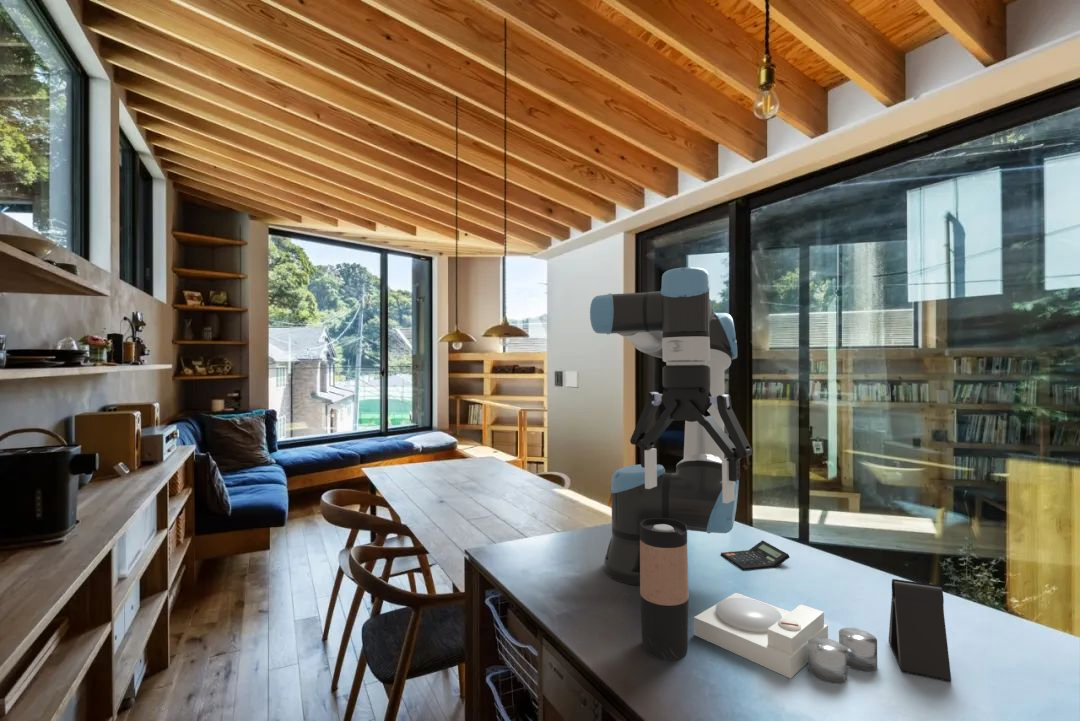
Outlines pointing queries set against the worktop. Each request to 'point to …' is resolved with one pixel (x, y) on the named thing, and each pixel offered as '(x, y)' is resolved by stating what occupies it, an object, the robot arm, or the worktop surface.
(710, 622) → the scale
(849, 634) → the cylinder
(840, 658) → the cylinder
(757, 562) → the calculator
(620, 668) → the worktop surface
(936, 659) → the phone stand
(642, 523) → the travel mug
